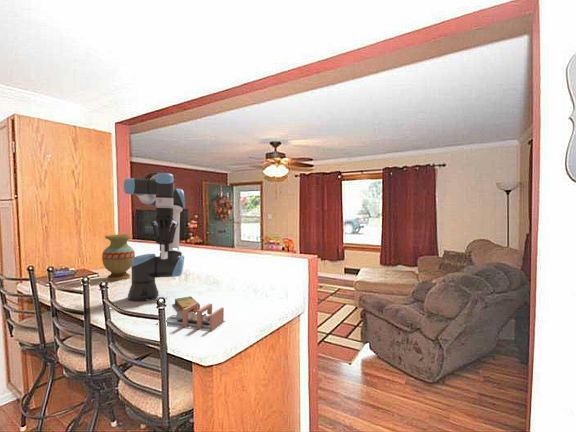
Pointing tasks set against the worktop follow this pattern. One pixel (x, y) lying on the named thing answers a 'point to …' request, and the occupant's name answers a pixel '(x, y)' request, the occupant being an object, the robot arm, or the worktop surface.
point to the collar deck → (198, 318)
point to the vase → (118, 256)
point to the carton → (185, 303)
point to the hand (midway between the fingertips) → (164, 258)
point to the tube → (193, 317)
